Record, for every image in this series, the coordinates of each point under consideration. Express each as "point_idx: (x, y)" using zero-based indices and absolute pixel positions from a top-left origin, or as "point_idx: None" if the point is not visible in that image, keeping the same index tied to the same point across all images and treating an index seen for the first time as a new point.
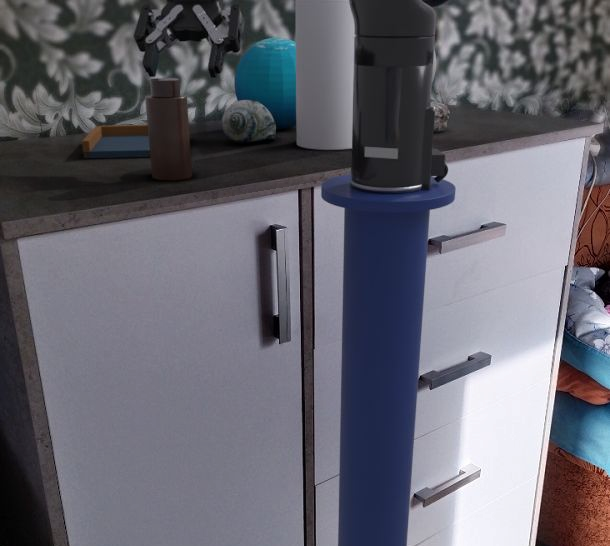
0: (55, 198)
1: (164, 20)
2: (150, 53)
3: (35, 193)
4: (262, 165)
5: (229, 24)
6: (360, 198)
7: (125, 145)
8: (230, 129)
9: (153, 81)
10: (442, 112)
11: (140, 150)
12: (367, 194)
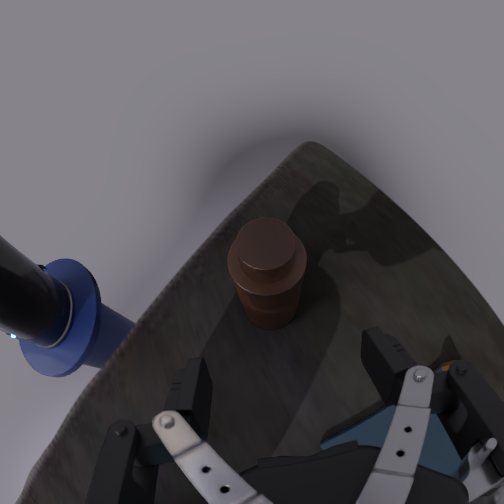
0: (330, 187)
1: (415, 436)
2: (386, 348)
3: (360, 196)
4: None
5: (122, 470)
6: (71, 262)
7: None
8: None
9: (276, 219)
10: None
11: (385, 408)
12: (65, 277)
